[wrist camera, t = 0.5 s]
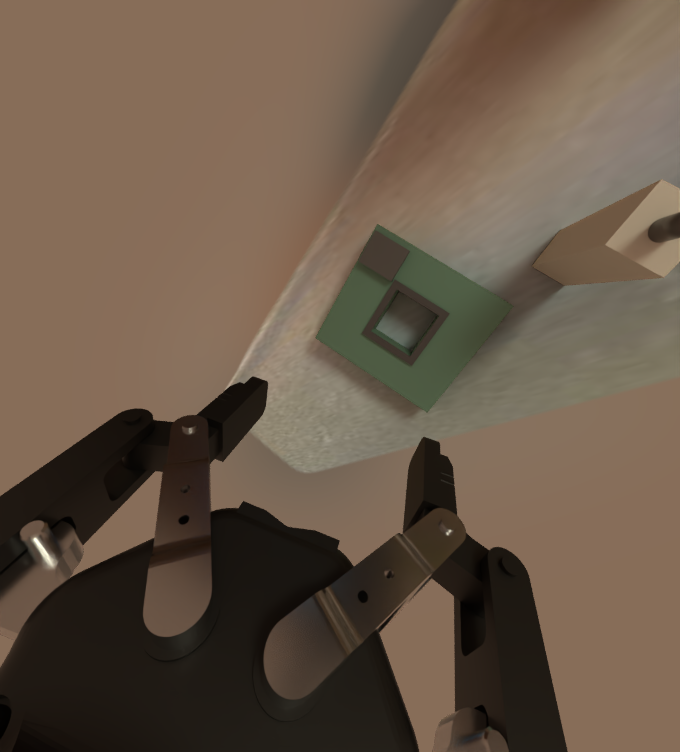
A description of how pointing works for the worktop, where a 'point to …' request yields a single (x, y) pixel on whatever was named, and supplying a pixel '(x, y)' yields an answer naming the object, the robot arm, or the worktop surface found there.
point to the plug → (619, 241)
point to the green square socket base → (427, 287)
